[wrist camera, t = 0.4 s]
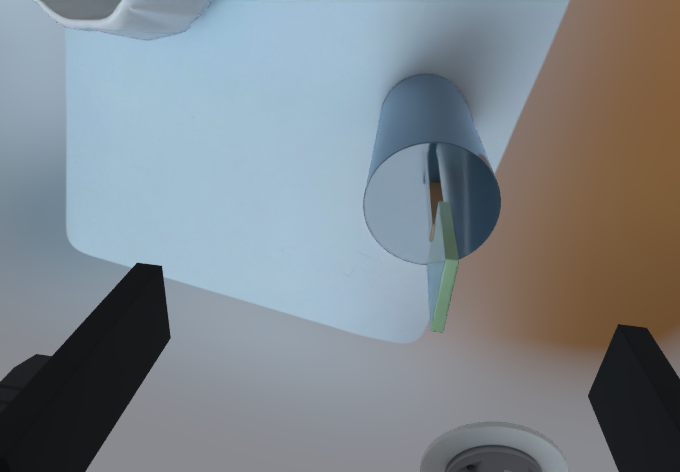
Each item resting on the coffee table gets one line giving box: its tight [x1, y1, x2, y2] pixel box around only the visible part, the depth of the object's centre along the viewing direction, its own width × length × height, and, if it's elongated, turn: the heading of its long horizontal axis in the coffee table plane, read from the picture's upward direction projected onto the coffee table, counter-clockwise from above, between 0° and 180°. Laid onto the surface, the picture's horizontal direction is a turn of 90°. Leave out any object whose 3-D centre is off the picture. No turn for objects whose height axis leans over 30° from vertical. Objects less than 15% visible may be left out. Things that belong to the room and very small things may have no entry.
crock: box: [363, 74, 501, 332], centre depth 38 cm, size 9×9×34 cm
